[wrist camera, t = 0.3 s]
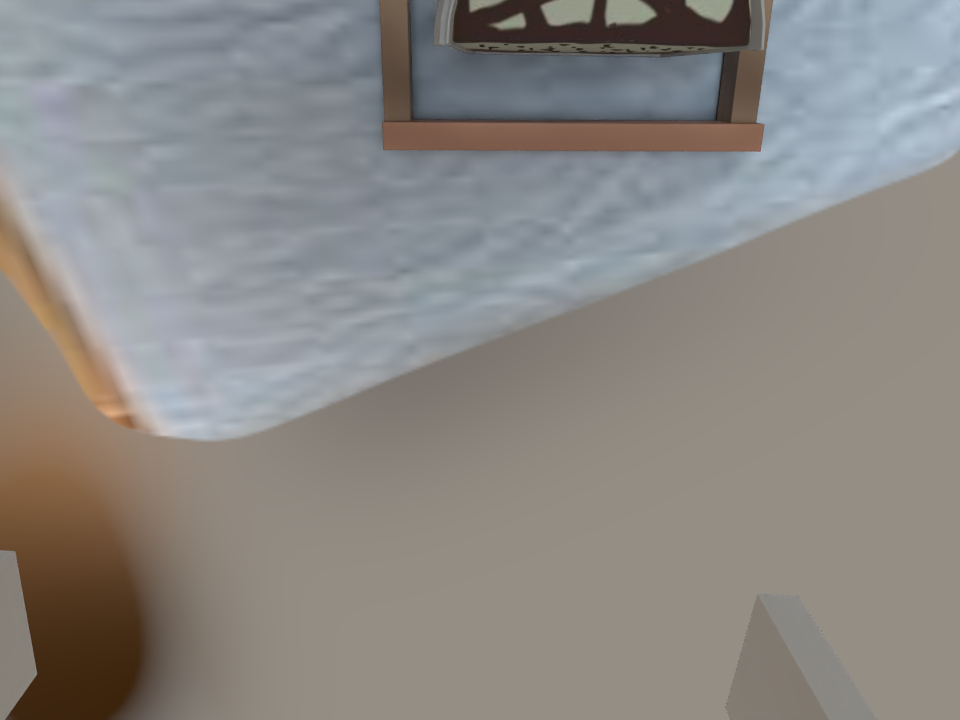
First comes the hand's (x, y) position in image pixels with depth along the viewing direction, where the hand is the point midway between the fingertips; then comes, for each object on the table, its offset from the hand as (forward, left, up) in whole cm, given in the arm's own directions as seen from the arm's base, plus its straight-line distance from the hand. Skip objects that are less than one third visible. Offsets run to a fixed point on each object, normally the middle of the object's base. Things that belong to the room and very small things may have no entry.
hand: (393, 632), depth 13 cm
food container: (-14, +6, -27) cm, 31 cm away
